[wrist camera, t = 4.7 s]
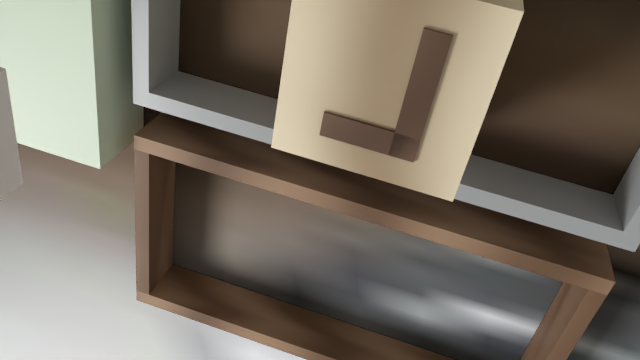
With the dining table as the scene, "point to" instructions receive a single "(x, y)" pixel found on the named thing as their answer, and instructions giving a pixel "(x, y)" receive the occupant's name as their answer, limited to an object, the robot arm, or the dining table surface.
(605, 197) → the tray grey
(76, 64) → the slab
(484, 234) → the tray walnut
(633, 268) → the dining table surface
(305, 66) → the letter cube
